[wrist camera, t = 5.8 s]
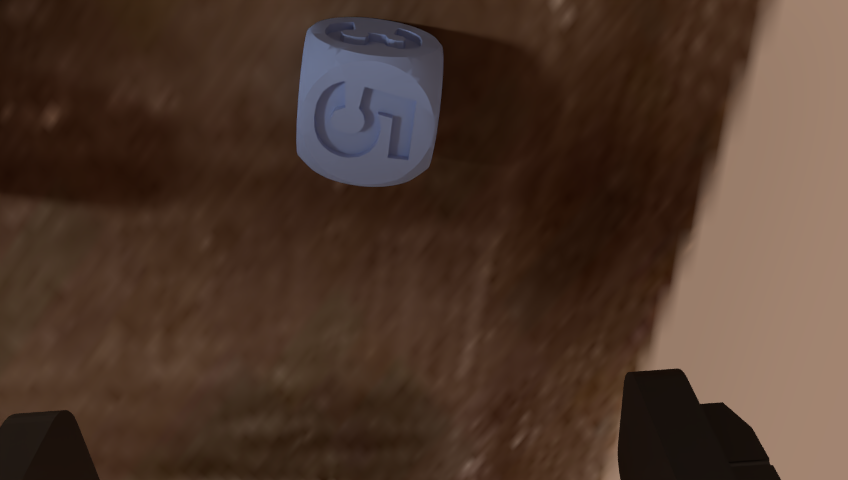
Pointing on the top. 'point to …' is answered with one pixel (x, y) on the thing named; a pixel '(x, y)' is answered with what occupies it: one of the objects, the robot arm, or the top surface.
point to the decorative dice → (368, 100)
